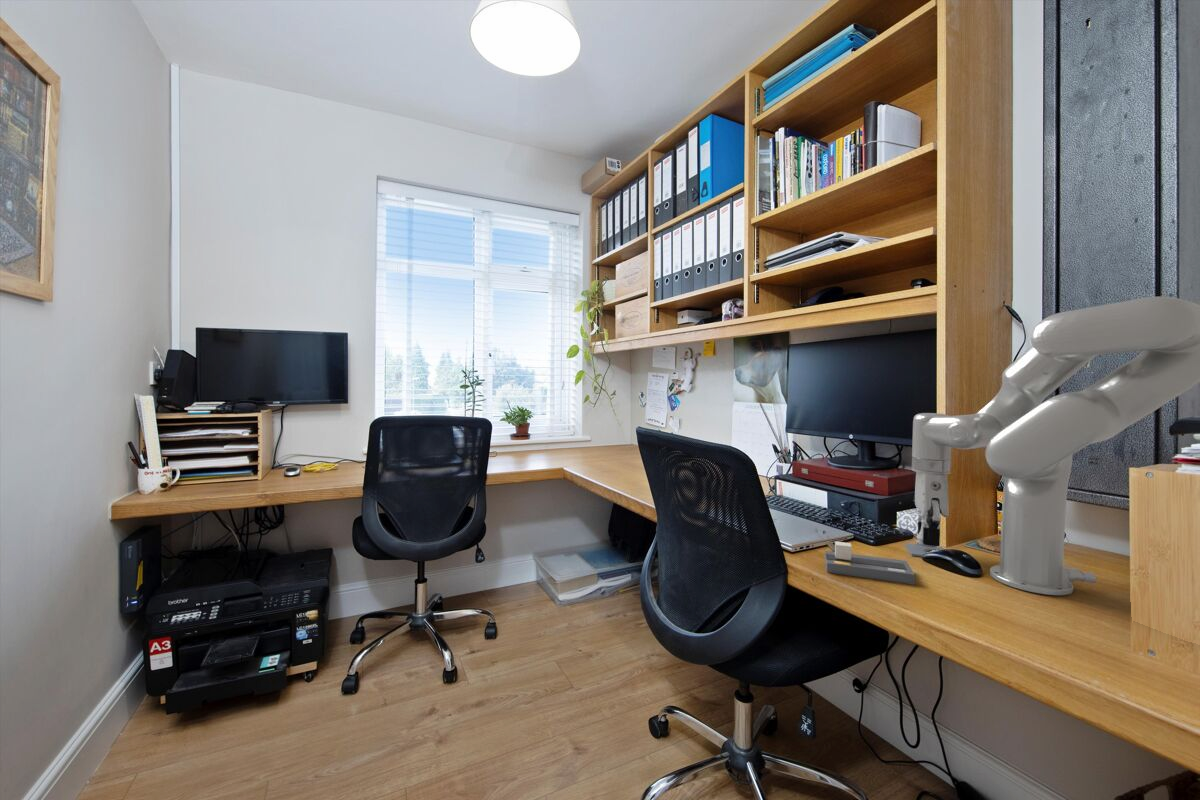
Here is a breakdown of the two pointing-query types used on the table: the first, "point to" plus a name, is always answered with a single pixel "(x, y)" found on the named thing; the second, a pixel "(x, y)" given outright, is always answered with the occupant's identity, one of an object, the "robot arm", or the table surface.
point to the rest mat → (919, 549)
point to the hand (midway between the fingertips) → (928, 540)
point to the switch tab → (843, 550)
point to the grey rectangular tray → (870, 567)
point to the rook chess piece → (920, 535)
